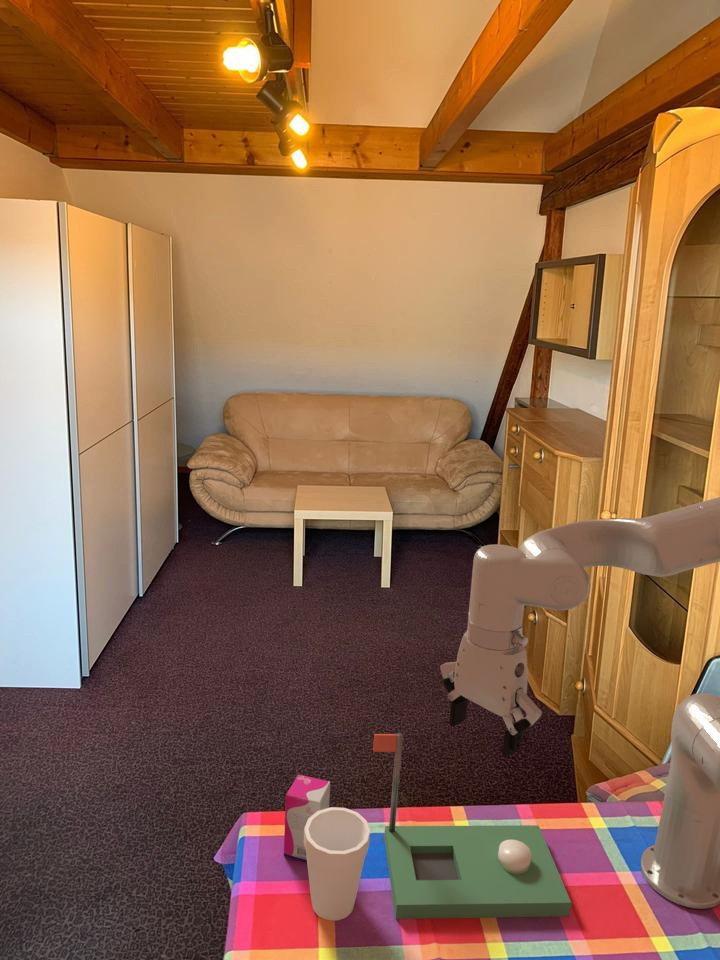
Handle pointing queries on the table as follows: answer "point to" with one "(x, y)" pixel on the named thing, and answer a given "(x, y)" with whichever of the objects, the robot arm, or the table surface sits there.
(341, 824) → the foam cup
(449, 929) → the table surface
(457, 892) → the putting mat
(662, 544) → the robot arm
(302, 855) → the supplement box
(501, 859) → the cream rounded stone
